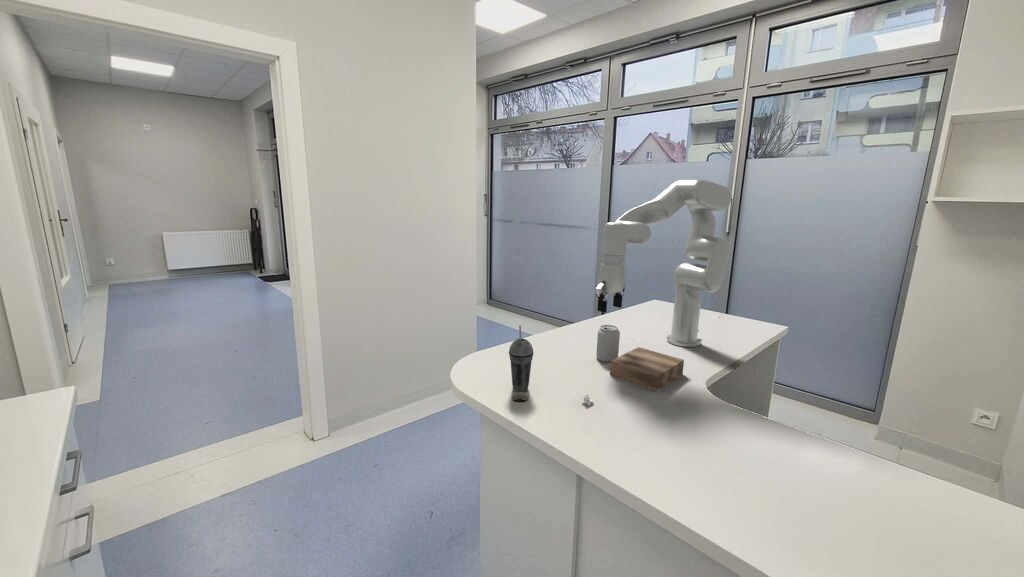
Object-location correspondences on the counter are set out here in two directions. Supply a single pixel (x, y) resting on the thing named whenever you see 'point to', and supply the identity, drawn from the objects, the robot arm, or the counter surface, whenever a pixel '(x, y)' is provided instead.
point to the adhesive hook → (587, 399)
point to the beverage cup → (520, 363)
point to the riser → (647, 368)
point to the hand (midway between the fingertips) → (609, 309)
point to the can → (607, 343)
